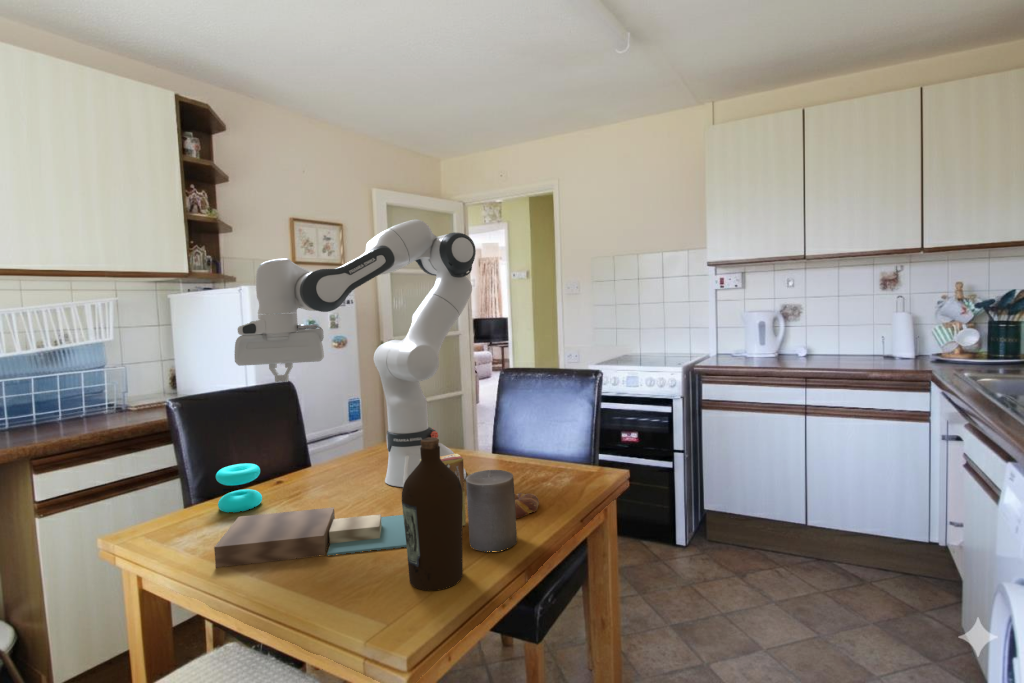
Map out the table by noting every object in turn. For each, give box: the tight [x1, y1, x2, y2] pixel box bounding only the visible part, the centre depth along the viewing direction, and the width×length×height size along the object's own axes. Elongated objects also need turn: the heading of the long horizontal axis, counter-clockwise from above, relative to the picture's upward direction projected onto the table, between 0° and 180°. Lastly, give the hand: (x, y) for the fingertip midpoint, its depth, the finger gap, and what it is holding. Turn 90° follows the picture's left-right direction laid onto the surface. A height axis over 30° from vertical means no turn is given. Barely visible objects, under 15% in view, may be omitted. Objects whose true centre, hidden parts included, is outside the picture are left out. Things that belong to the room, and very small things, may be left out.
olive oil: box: [401, 437, 464, 591], centre depth 100 cm, size 11×11×25 cm
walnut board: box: [213, 506, 336, 568], centre depth 118 cm, size 20×16×4 cm
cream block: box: [329, 514, 382, 544], centre depth 120 cm, size 10×7×2 cm
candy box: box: [420, 453, 467, 527], centre depth 123 cm, size 9×4×15 cm, turn 116°
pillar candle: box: [464, 469, 518, 553], centre depth 114 cm, size 10×10×15 cm
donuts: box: [215, 462, 263, 513], centre depth 141 cm, size 10×10×10 cm
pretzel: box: [515, 492, 540, 519], centre depth 132 cm, size 12×11×4 cm
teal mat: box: [326, 514, 407, 557], centre depth 121 cm, size 16×17×1 cm
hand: (282, 381), depth 139 cm, fingers closed
